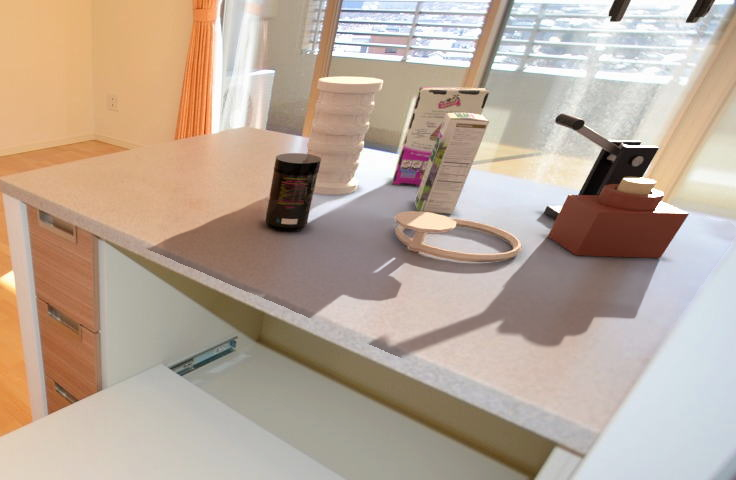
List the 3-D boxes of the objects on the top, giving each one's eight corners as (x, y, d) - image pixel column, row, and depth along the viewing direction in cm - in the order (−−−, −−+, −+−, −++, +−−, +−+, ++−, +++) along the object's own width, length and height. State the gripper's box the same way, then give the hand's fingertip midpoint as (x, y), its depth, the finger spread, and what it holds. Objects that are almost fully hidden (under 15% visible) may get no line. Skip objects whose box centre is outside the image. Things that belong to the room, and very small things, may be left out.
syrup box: (413, 202, 98) (443, 111, 89) (449, 205, 97) (484, 113, 88) (416, 211, 94) (448, 117, 85) (454, 214, 92) (491, 119, 83)
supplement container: (300, 219, 92) (314, 152, 85) (311, 233, 86) (327, 163, 80) (260, 219, 92) (271, 153, 86) (268, 233, 87) (281, 163, 80)
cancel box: (625, 238, 82) (658, 183, 77) (660, 258, 76) (698, 199, 71) (547, 236, 84) (574, 181, 79) (575, 255, 77) (607, 197, 73)
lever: (567, 130, 79) (582, 113, 77) (549, 124, 83) (564, 108, 81) (634, 172, 81) (650, 157, 79) (614, 164, 85) (629, 149, 83)
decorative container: (369, 190, 105) (400, 81, 93) (322, 197, 101) (348, 85, 90) (328, 176, 113) (352, 74, 102) (283, 182, 110) (302, 78, 99)
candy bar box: (452, 183, 107) (488, 87, 97) (454, 190, 104) (491, 91, 93) (390, 178, 111) (419, 85, 101) (390, 185, 107) (420, 88, 97)
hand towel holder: (563, 223, 76) (453, 243, 70) (547, 253, 78) (440, 275, 73) (460, 191, 88) (360, 206, 83) (450, 218, 91) (352, 235, 85)
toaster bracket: (575, 232, 85) (619, 150, 77) (543, 212, 92) (580, 136, 85) (638, 234, 84) (689, 151, 76) (601, 214, 91) (644, 137, 84)
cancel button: (637, 190, 76) (645, 176, 75) (654, 197, 74) (662, 183, 72) (609, 189, 77) (617, 176, 76) (625, 196, 74) (633, 183, 73)
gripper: (829, -154, 62) (727, 22, 72) (673, -134, 71) (602, 20, 81) (813, -162, 58) (709, 24, 68) (651, -139, 68) (580, 21, 78)
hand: (651, 22), depth 75 cm, fingers open, 8 cm apart
